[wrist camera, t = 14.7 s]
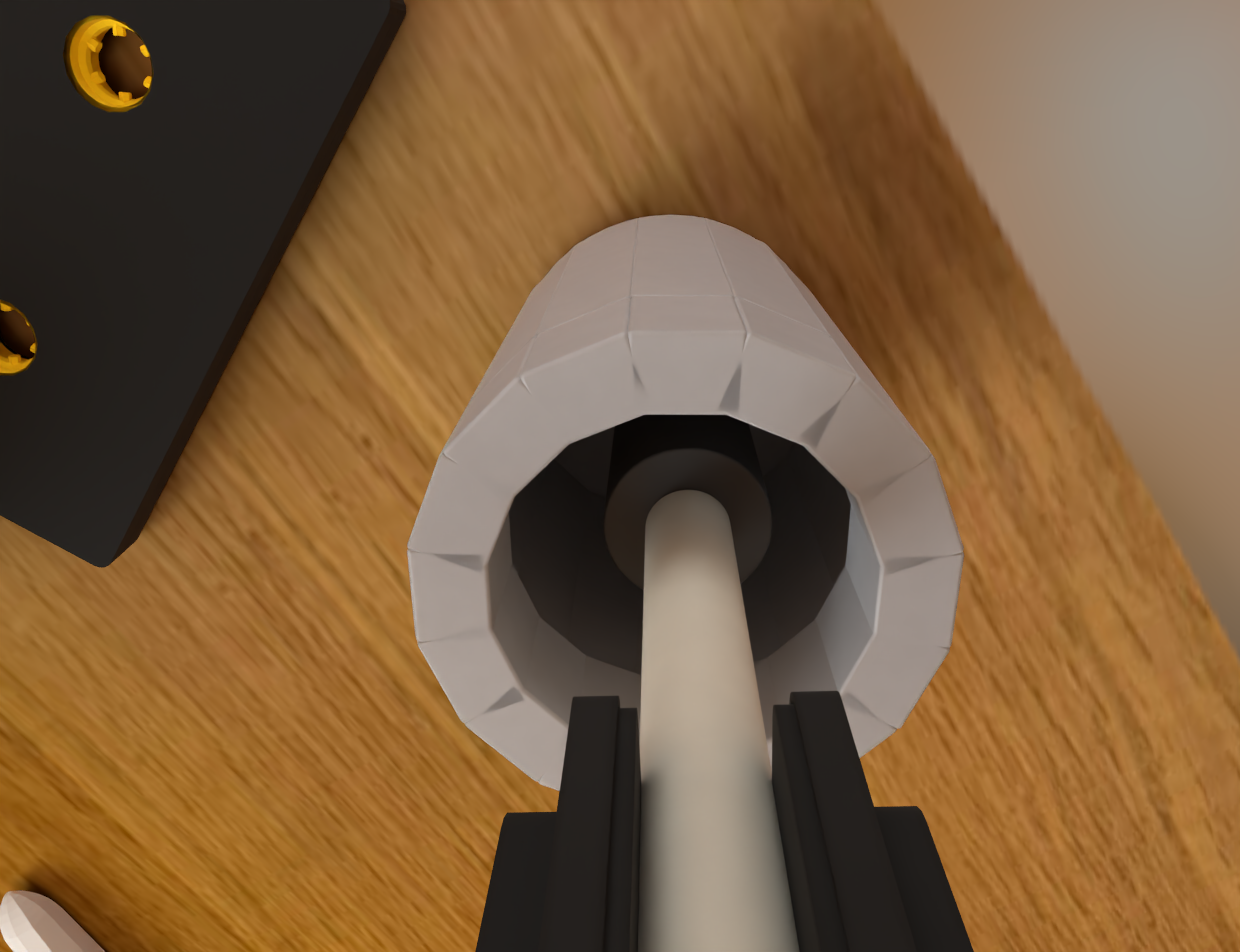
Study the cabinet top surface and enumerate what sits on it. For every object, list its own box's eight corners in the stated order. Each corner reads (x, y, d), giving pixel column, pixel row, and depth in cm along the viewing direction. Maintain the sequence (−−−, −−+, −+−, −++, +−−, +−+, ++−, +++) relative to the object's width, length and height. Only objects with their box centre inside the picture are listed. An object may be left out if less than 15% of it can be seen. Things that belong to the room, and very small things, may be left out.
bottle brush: (749, 369, 22) (1026, 1224, 6) (749, 497, 23) (977, 1517, 7) (610, 375, 22) (474, 1222, 6) (617, 501, 24) (523, 1508, 7)
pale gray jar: (762, 160, 25) (862, 234, 13) (864, 452, 28) (1022, 726, 16) (461, 289, 27) (309, 460, 15) (588, 553, 30) (547, 873, 18)
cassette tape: (-30, -303, 22) (-98, -341, 20) (414, 4, 24) (392, -3, 22) (-233, 342, 28) (-301, 362, 26) (137, 543, 30) (100, 576, 28)
